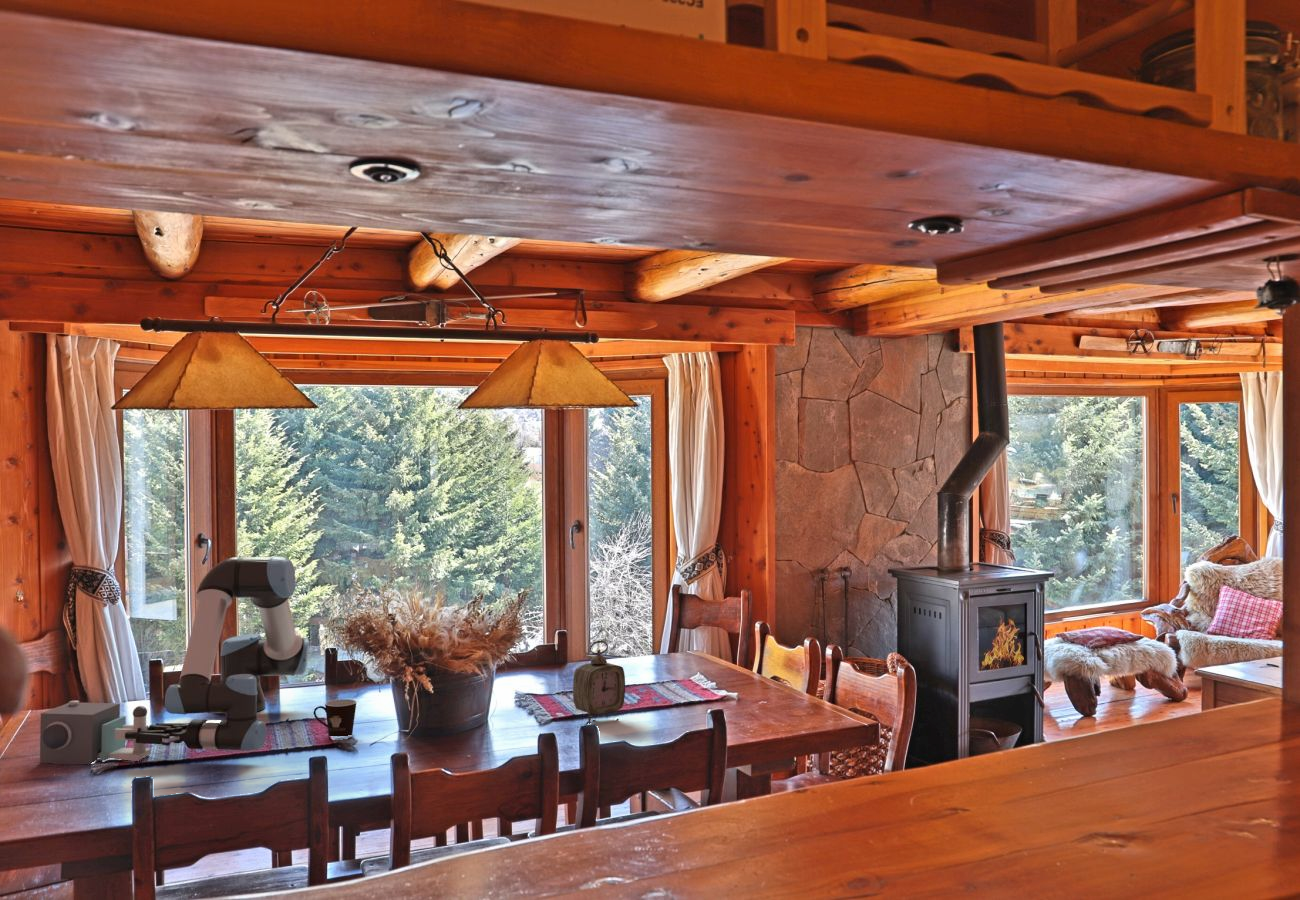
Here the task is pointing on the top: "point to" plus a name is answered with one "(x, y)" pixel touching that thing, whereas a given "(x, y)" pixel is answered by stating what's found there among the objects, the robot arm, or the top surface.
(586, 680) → the tabletop clock
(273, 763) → the top surface
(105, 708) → the camera body
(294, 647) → the robot arm
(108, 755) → the battery sled
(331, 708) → the coffee mug
